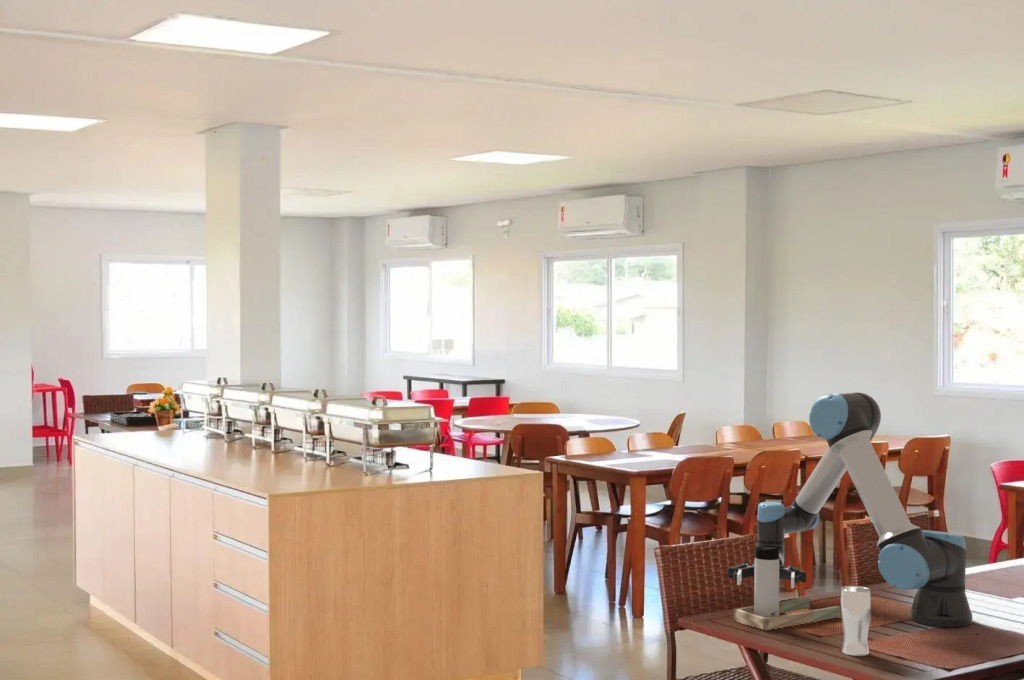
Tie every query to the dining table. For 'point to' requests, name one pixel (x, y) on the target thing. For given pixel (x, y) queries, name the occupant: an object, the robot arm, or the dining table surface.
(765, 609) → the travel mug
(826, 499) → the robot arm
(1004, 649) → the dining table surface
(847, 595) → the beer glass
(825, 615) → the bay
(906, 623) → the dining table surface
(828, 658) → the dining table surface
